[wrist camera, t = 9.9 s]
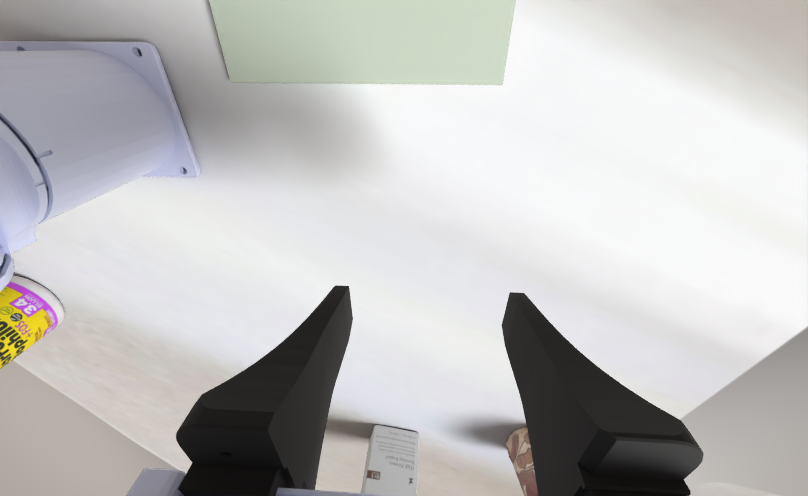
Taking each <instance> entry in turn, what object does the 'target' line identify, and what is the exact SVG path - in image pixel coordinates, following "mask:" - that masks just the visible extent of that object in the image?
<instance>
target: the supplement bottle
mask: <svg viewBox="0 0 808 496" xmlns="http://www.w3.org/2000/svg"><path fill="white" fill-rule="evenodd" d="M64 315H65V313H64V309H63V306H62V304H61V303H60V301H59V300H58V299H57V298H56V297H55V296H54V295H53V294H52V293H51V292H50V291H48V290H47V289H46V288H44V287H43V286H41V285H39V284H37V283H35V282H33V281H31V280H28V279H26V278H23V277H19V276H12V278H11V280H10V282H9V283H8V284H7V285H6V286H5V287H4V289H3V290H2V291H1V292H0V369H1V368H2V367H4V366H5V365H6V364H8V363H9V362H10V361H12V360H13V359H14V358H16V357H17V356H18V355H19V354H21V353H22V352H24V351H25V350H26V349H28V348H29V347H30V346H32V345H33V344H34V343H36V342H37V341H38V340H40V339H41V338H42V337H43V336H45V335H46V334H47V333H49V332H50V331H51V330H53V329H54V328H55V327H56V326H58V325H59V324H60V323H61V322H62V321H63V319H64Z"/></svg>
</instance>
